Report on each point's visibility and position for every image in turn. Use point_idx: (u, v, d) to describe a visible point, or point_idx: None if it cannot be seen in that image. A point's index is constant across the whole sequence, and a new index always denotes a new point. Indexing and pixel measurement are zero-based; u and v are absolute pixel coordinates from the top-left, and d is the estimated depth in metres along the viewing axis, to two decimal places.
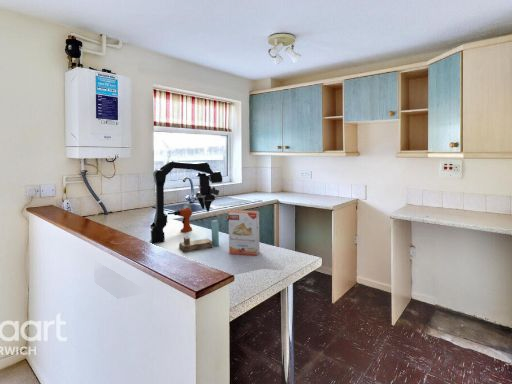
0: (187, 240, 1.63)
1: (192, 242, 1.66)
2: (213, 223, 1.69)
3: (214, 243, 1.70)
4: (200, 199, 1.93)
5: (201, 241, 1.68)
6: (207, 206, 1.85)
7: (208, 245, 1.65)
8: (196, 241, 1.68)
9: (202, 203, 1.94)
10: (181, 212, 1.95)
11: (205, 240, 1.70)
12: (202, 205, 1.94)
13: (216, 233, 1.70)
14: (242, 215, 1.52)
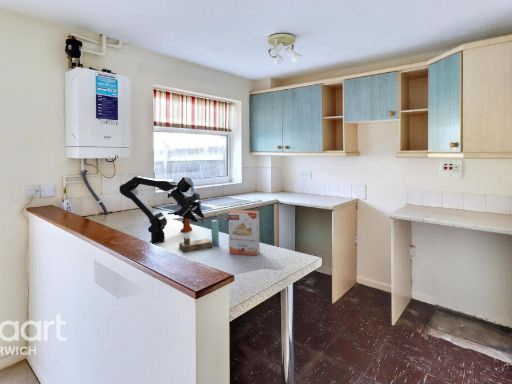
0: (187, 240, 1.63)
1: (192, 242, 1.66)
2: (213, 223, 1.69)
3: (214, 243, 1.70)
4: (195, 211, 1.78)
5: (201, 241, 1.68)
6: (191, 218, 1.67)
7: (208, 245, 1.65)
8: (196, 241, 1.68)
9: (199, 213, 1.77)
10: None
11: (205, 240, 1.70)
12: (200, 215, 1.77)
13: (216, 233, 1.70)
14: (242, 215, 1.52)
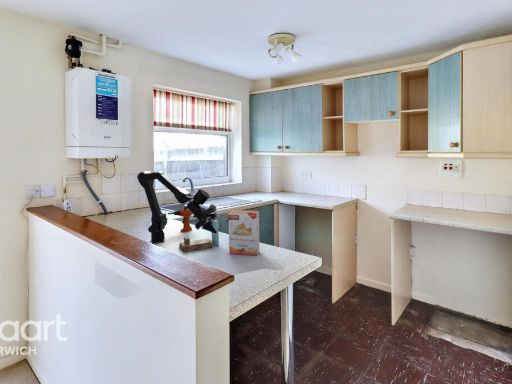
0: (187, 240, 1.63)
1: (192, 242, 1.66)
2: (213, 223, 1.69)
3: (214, 243, 1.70)
4: None
5: (201, 241, 1.68)
6: (210, 229, 1.68)
7: (208, 245, 1.65)
8: (196, 241, 1.68)
9: None
10: (181, 212, 1.95)
11: (205, 240, 1.70)
12: None
13: (216, 233, 1.70)
14: (242, 215, 1.52)
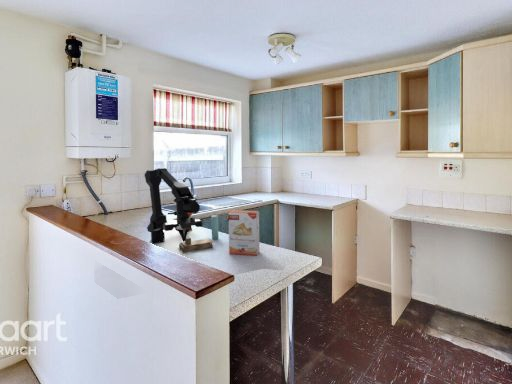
0: (188, 240, 1.63)
1: (193, 242, 1.67)
2: (214, 218, 1.80)
3: (215, 237, 1.81)
4: (183, 229, 1.64)
5: (202, 241, 1.68)
6: None
7: (208, 245, 1.65)
8: (197, 241, 1.68)
9: (183, 234, 1.64)
10: None
11: (206, 240, 1.70)
12: None
13: (216, 227, 1.81)
14: (242, 215, 1.52)
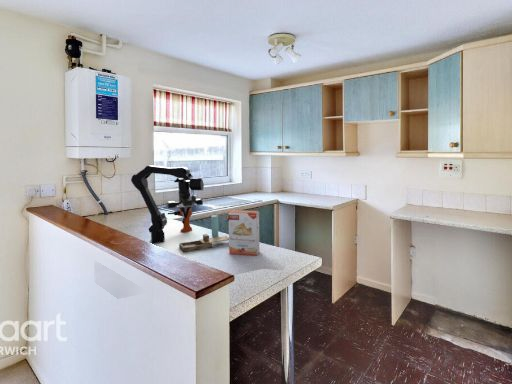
0: (206, 237, 1.67)
1: (211, 239, 1.71)
2: (214, 218, 1.80)
3: None
4: (185, 207, 1.77)
5: (219, 238, 1.72)
6: (182, 213, 1.76)
7: (208, 245, 1.65)
8: (215, 238, 1.73)
9: (185, 212, 1.76)
10: (181, 212, 1.95)
11: (223, 237, 1.74)
12: None
13: (216, 227, 1.81)
14: (242, 215, 1.52)
